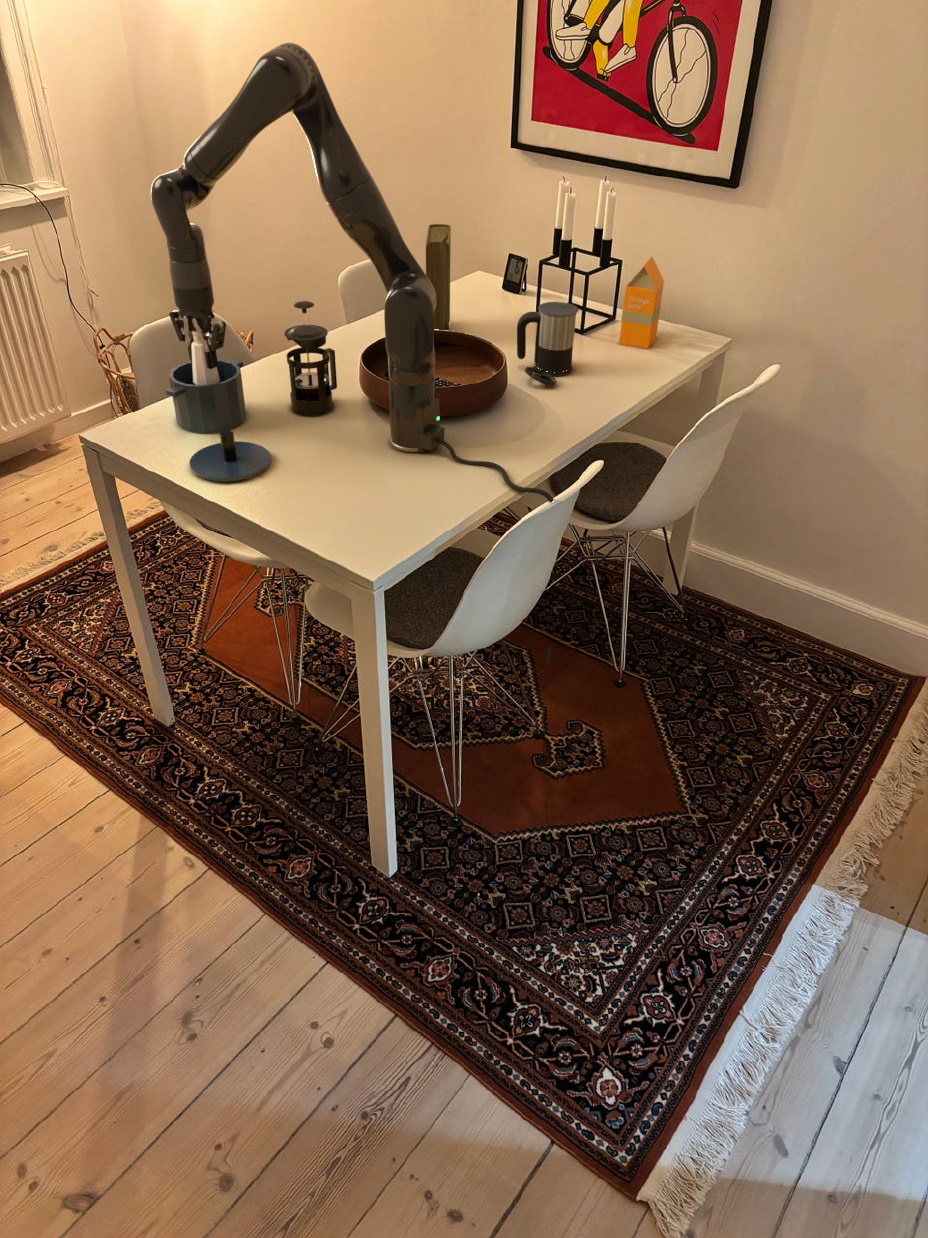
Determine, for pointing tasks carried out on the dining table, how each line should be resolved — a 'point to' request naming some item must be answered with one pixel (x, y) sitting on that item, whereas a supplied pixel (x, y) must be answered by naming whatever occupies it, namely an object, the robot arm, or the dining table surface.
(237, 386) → the pot
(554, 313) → the milk frother
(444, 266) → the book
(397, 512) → the dining table surface
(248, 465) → the lid
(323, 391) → the french press
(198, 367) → the pepper shaker
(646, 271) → the orange juice
